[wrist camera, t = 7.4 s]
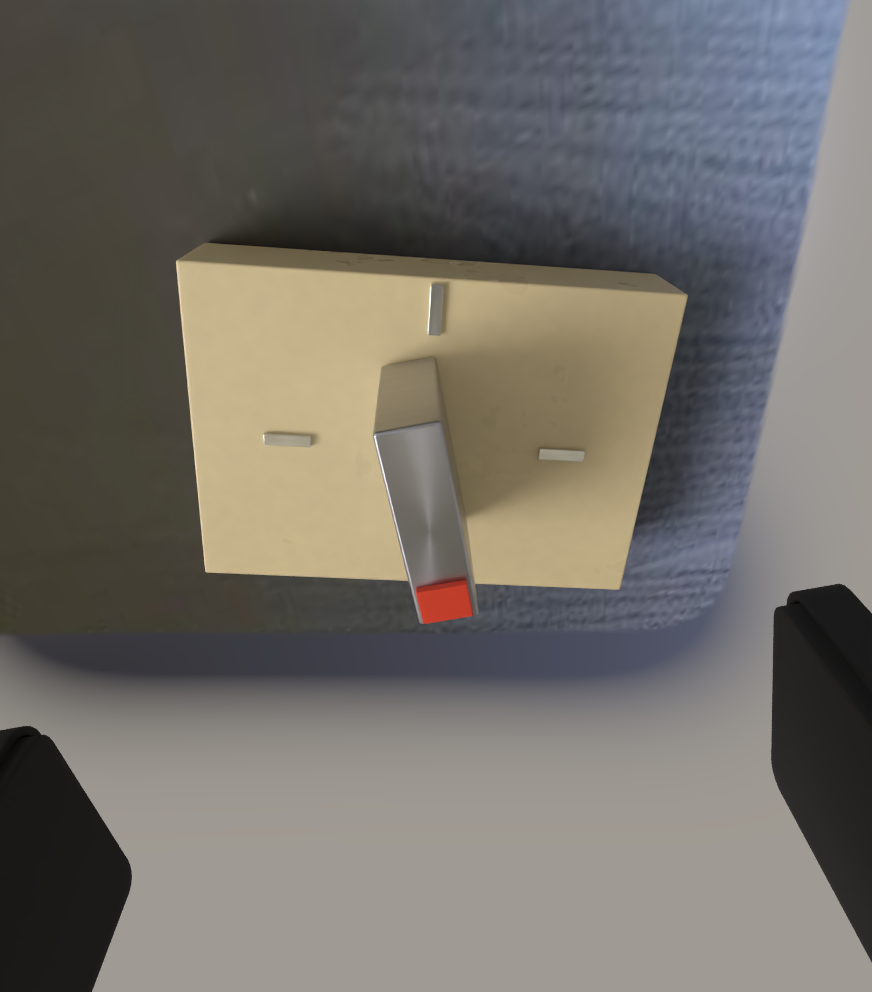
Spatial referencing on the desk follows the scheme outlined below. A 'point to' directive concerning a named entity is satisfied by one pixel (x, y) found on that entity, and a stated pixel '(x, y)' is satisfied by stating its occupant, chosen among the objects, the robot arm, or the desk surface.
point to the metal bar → (424, 490)
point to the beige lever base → (467, 397)
